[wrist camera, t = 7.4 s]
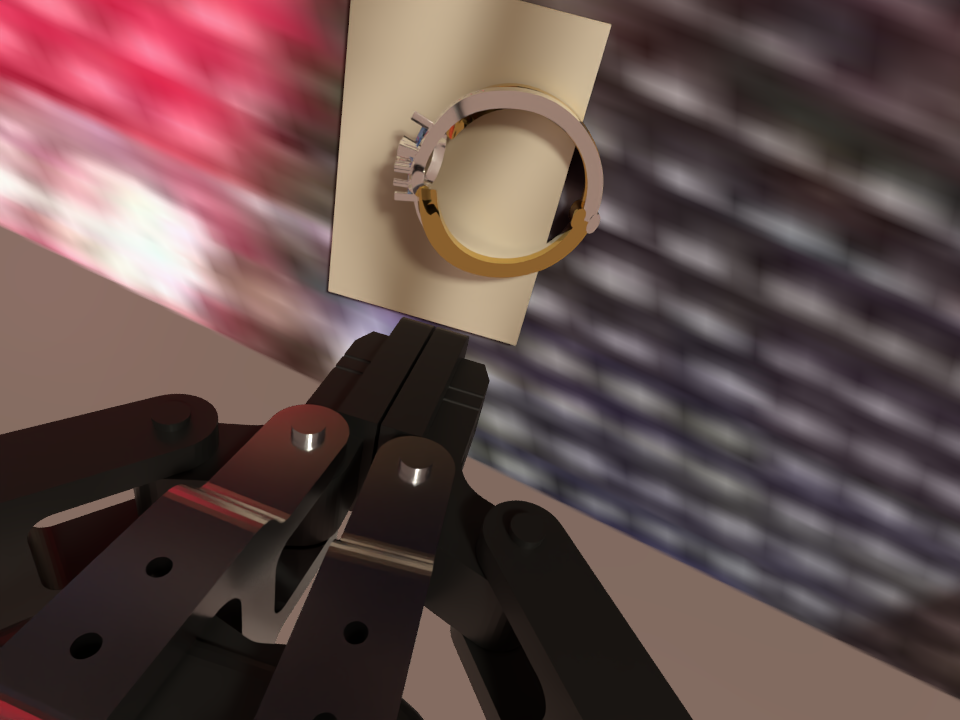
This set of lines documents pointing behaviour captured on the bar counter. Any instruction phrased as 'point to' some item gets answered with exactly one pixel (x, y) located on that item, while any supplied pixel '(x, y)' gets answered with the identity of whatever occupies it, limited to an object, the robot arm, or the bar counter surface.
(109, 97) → the bar counter surface
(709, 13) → the bar counter surface
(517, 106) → the ring
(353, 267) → the birch board
